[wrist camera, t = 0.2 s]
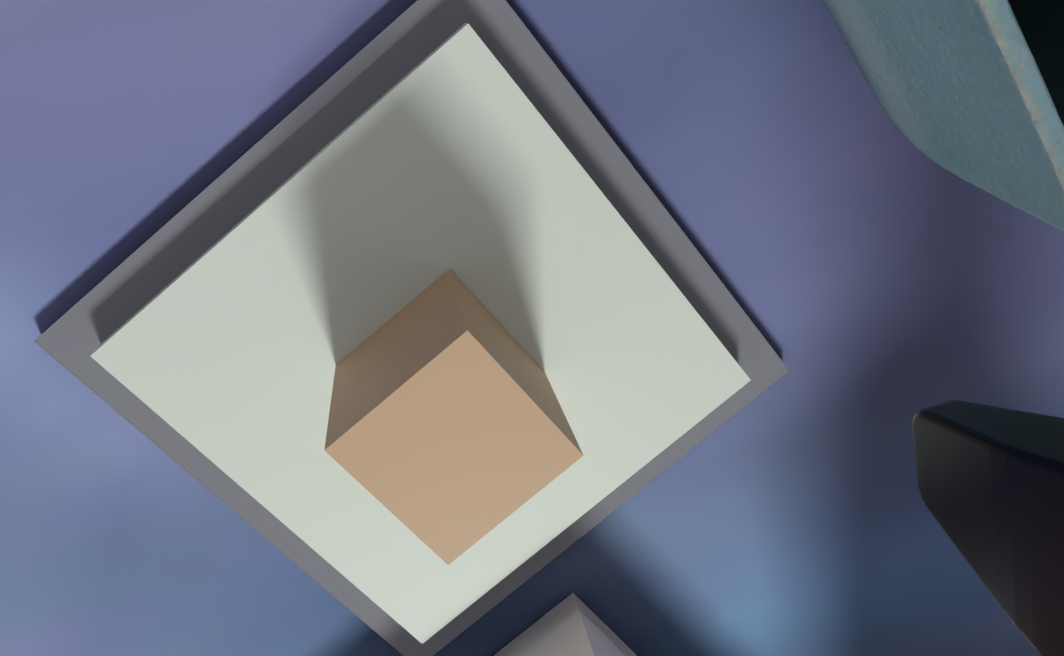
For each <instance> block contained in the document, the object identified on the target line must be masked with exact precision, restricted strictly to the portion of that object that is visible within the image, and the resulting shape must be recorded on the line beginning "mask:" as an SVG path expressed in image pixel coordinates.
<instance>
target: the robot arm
mask: <svg viewBox="0 0 1064 656" xmlns="http://www.w3.org/2000/svg"><path fill="white" fill-rule="evenodd" d="M912 433H913V443H914V453H915V464H916V474H917V483H918V488H919V491H920V494H921V497H922V499H923V501H924V503H925V505H926V506H927V508H928V509H929V511H930V512H931V513H932V515H933V516H934V518H935V519H936V520H937V522H938V523H939V524H940V526H941V527H942V528H943V530H944V531H945V532H946V534H947V535H948V537H949V538H950V539H951V541H952V542H953V543H954V545H955V546H956V547H957V549H958V550H959V551H960V553H961V554H962V556H963V557H964V558H965V560H966V561H967V562H968V564H969V565H970V566H971V568H972V569H973V571H974V572H975V573H976V575H977V576H978V577H979V579H980V580H981V581H982V583H983V584H984V585H985V587H986V588H987V590H988V591H989V592H990V594H991V595H992V596H993V598H994V599H995V600H996V602H997V603H998V604H999V606H1000V607H1001V608H1002V610H1003V611H1004V612H1005V614H1006V615H1007V616H1008V617H1009V619H1010V620H1011V621H1012V622H1013V624H1014V625H1015V626H1016V627H1017V629H1018V630H1019V631H1020V632H1021V633H1022V634H1023V635H1024V637H1025V638H1026V639H1027V640H1028V641H1029V642H1030V643H1031V645H1032V646H1033V647H1034V648H1035V649H1036V650H1037V651H1038V652H1039V653H1040V655H1041V656H1064V418H1059V417H1053V416H1047V415H1041V414H1035V413H1029V412H1023V411H1017V410H1011V409H1005V408H999V407H994V406H988V405H982V404H976V403H970V402H964V401H957V400H954V401H948V402H945V403H941V404H938V405H934V406H931V407H928V408H924V409H922V410H919V411H918V412H917V413H916V414H915V416H914V417H913V422H912Z"/></svg>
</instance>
